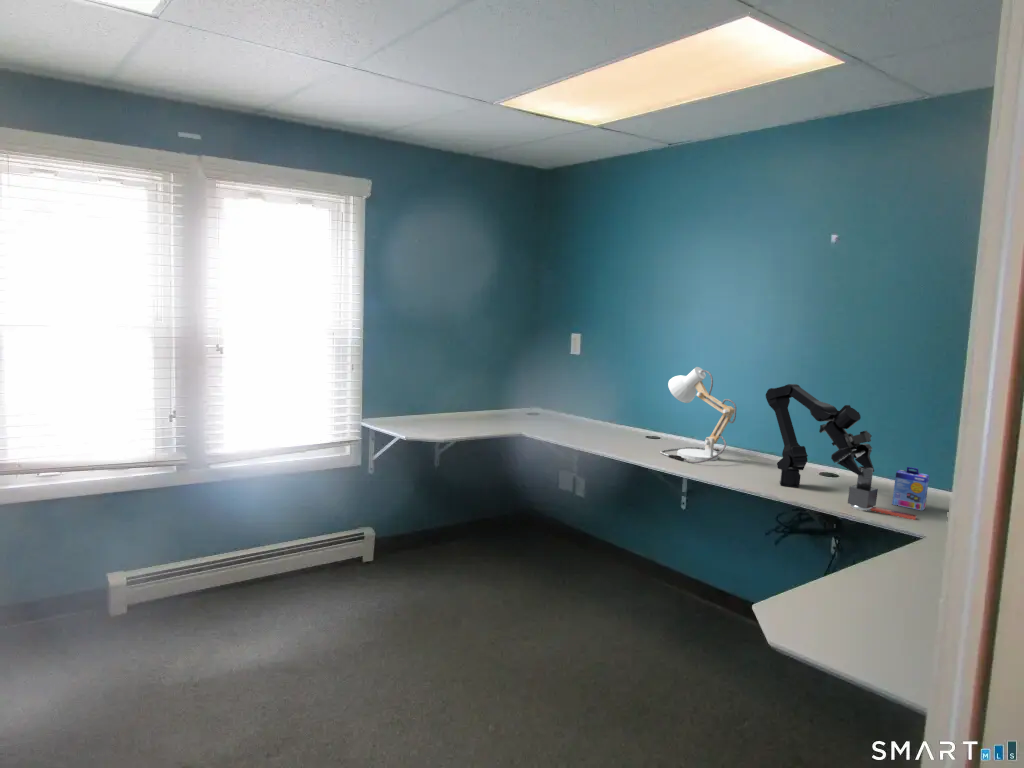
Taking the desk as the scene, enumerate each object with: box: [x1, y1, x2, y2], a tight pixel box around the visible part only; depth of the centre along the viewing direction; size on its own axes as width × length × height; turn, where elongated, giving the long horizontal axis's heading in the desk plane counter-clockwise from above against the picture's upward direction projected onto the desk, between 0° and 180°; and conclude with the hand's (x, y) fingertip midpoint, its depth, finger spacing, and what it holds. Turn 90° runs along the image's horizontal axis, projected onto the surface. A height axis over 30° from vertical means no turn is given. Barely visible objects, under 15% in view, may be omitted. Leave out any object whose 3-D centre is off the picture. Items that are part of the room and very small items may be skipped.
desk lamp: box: [659, 366, 737, 464], centre depth 309 cm, size 31×38×40 cm
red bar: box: [849, 504, 917, 521], centre depth 235 cm, size 20×9×4 cm, turn 38°
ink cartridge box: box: [891, 466, 930, 511], centre depth 244 cm, size 10×6×14 cm, turn 51°
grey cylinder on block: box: [847, 465, 879, 508], centre depth 238 cm, size 7×7×13 cm
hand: (867, 473), depth 237 cm, fingers open, 9 cm apart
